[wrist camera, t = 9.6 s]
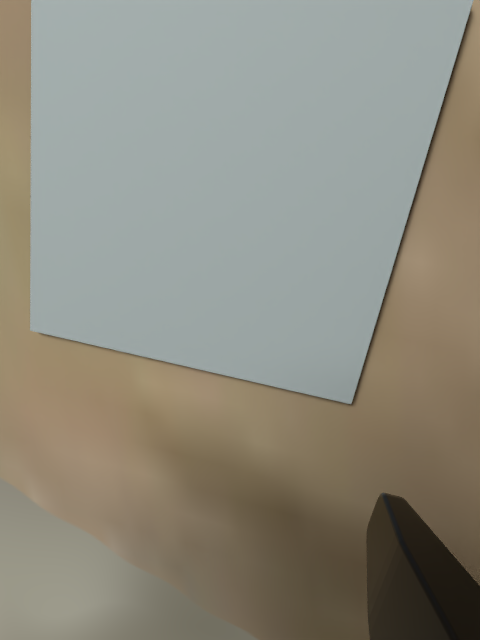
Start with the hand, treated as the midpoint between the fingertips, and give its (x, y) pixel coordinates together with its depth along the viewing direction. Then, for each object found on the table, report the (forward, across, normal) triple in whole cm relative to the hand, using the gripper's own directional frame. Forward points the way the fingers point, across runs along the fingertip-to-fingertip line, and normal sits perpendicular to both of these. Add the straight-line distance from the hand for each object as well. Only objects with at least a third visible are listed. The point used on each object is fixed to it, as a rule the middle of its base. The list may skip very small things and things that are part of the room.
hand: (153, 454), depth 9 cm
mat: (+12, +2, -4) cm, 13 cm away
